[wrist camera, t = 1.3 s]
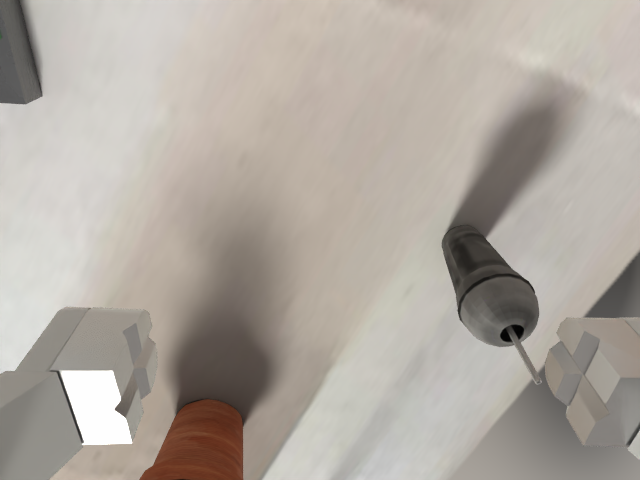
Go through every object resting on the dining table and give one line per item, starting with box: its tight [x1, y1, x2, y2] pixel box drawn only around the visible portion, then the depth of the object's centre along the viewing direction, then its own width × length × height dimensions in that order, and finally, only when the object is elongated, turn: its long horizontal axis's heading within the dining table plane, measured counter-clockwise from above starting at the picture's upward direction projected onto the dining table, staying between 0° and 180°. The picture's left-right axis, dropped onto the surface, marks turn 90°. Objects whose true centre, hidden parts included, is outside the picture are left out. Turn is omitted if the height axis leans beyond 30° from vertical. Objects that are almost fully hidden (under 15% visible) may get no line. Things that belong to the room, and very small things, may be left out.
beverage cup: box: [442, 225, 542, 384], centre depth 44 cm, size 7×7×20 cm
